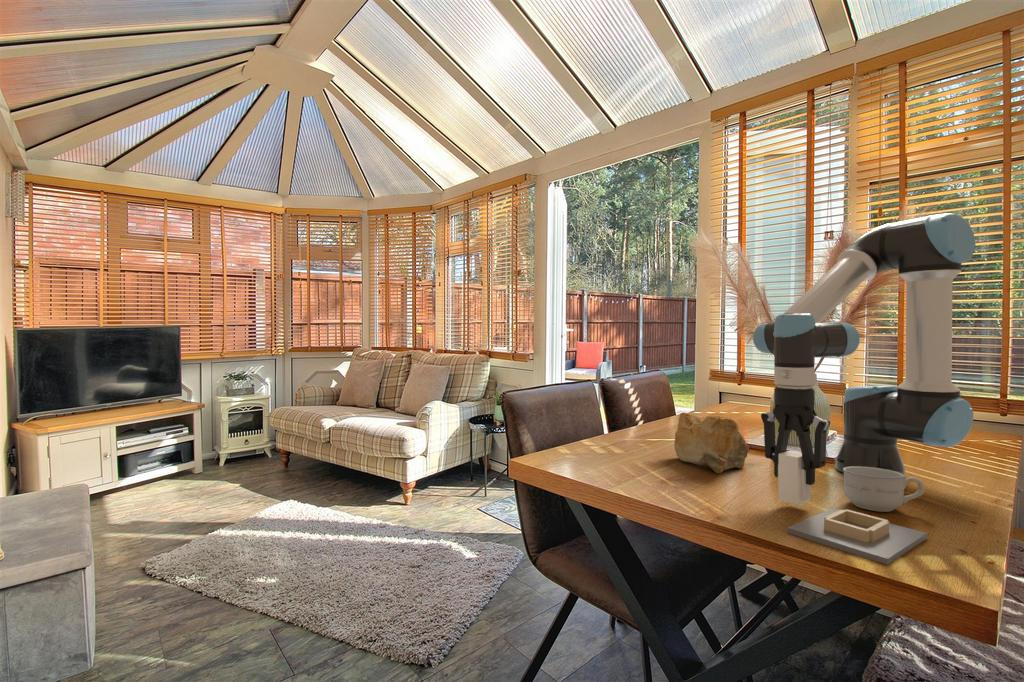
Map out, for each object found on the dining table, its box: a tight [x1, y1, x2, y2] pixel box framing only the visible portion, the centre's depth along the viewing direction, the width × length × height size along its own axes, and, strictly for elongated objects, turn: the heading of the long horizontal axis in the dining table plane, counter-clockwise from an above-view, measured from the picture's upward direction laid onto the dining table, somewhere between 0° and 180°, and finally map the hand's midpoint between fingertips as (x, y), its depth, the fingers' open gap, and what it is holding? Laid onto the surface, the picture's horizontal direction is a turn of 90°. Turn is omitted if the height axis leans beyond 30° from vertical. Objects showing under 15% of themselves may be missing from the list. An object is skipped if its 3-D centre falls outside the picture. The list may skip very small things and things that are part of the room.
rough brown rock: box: [674, 412, 750, 474], centre depth 143 cm, size 23×17×15 cm
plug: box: [778, 449, 811, 506], centre depth 109 cm, size 5×4×10 cm
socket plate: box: [786, 507, 928, 566], centre depth 95 cm, size 18×16×3 cm
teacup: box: [843, 466, 925, 513], centre depth 109 cm, size 14×11×8 cm
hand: (794, 495), depth 109 cm, fingers closed on plug, 4 cm apart
